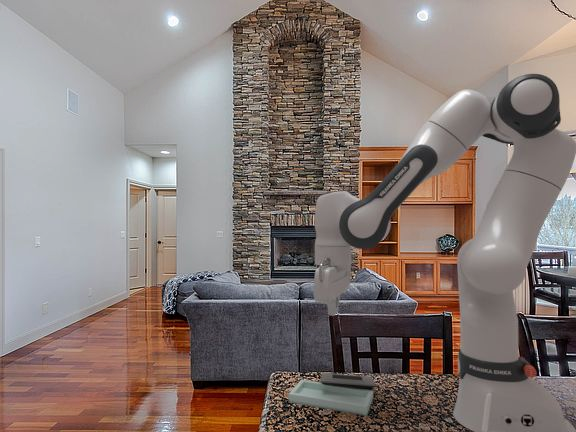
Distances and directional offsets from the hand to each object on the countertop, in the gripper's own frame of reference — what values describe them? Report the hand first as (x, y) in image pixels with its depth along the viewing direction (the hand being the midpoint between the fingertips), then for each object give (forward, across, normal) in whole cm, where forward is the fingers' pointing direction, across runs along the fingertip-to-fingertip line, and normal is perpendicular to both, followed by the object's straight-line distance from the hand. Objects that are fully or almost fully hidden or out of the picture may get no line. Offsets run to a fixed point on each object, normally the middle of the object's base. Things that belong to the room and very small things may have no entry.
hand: (333, 314), depth 95 cm
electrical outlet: (+21, +10, -1) cm, 23 cm away
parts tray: (+20, -2, 0) cm, 20 cm away
